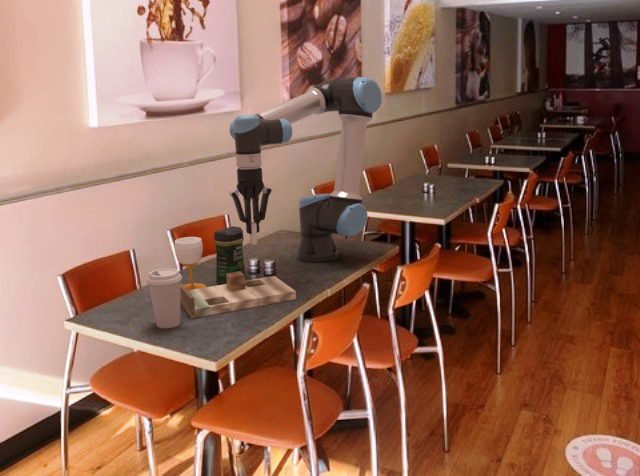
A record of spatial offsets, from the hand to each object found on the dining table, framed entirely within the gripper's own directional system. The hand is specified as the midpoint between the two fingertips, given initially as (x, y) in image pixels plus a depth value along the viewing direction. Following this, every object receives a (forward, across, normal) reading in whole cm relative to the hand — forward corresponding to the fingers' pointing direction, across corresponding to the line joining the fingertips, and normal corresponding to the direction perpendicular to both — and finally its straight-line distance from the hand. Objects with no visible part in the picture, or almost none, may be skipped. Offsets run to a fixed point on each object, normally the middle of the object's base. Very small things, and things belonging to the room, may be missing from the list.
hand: (253, 243), depth 210 cm
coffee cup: (+16, -31, -14) cm, 38 cm away
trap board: (+16, -8, -4) cm, 18 cm away
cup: (+16, -17, +14) cm, 27 cm away
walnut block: (+13, -7, -1) cm, 15 cm away
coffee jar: (+16, -4, +13) cm, 21 cm away
